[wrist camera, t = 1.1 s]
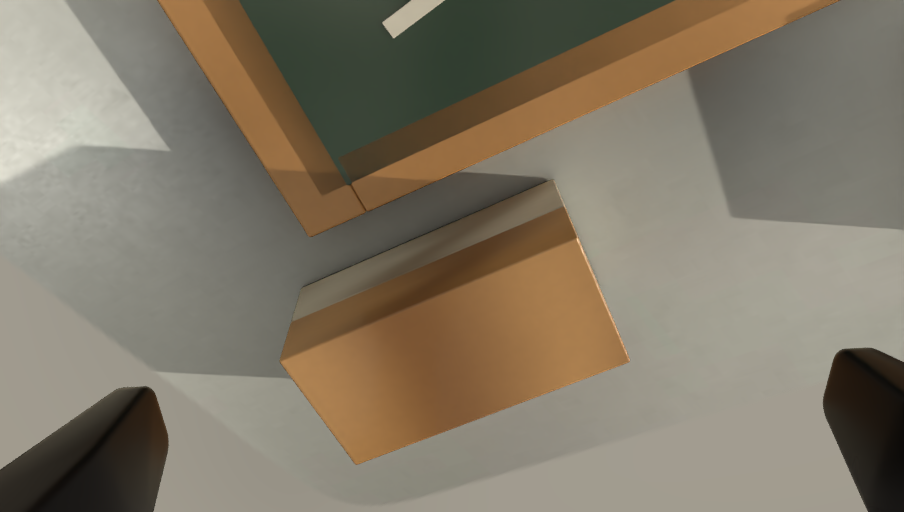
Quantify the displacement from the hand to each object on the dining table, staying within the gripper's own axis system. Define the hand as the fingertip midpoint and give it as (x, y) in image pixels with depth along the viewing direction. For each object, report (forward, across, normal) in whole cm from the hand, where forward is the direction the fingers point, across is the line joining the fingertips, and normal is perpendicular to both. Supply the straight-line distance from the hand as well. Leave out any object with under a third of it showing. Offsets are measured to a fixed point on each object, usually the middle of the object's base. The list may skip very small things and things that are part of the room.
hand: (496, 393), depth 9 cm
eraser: (+13, 0, +6) cm, 14 cm away
